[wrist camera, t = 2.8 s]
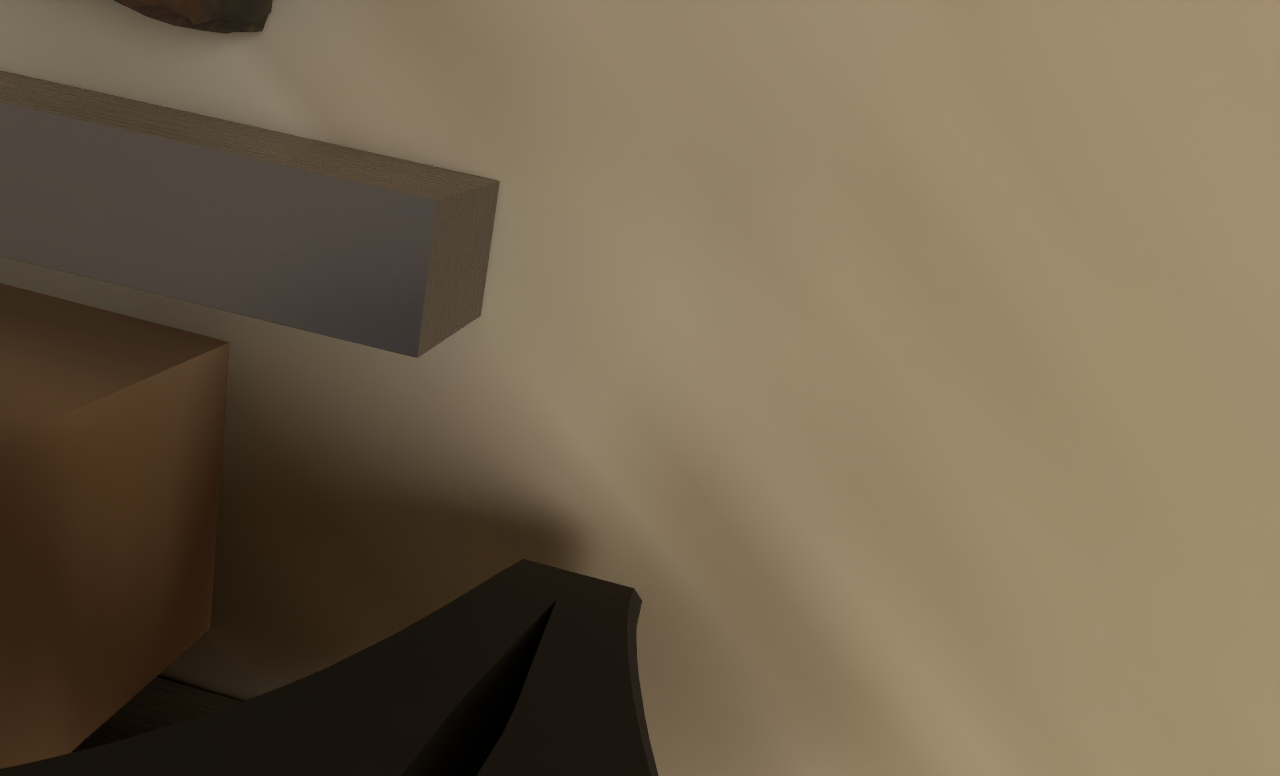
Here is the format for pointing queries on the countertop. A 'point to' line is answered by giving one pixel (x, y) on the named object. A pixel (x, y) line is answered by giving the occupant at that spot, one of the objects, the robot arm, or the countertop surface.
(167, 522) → the long wooden beam
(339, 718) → the robot arm
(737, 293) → the countertop surface
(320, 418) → the countertop surface
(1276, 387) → the countertop surface
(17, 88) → the slot rails
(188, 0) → the brown wooden log
